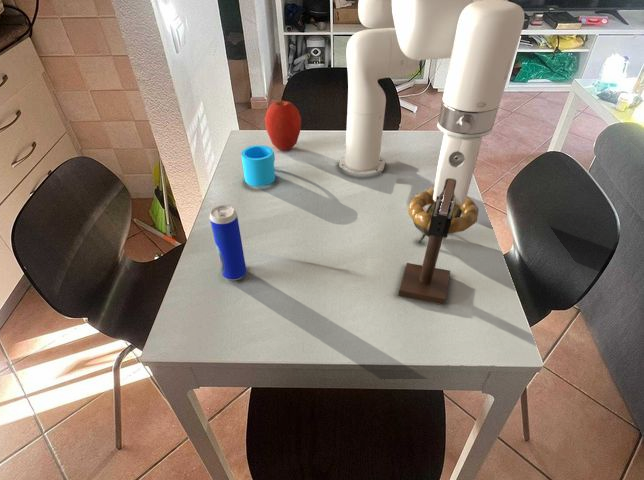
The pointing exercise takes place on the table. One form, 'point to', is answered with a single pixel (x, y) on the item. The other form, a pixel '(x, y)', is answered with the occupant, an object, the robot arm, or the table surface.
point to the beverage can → (228, 241)
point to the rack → (426, 277)
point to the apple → (283, 124)
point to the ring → (424, 218)
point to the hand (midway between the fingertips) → (438, 229)
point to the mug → (258, 165)
